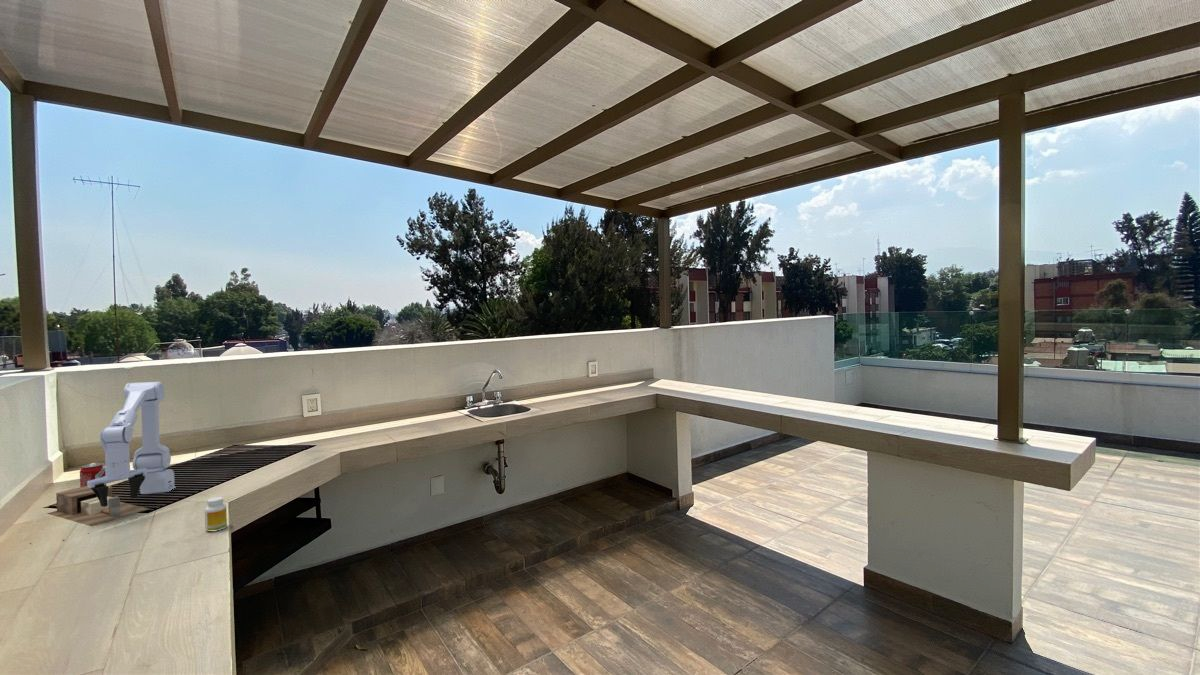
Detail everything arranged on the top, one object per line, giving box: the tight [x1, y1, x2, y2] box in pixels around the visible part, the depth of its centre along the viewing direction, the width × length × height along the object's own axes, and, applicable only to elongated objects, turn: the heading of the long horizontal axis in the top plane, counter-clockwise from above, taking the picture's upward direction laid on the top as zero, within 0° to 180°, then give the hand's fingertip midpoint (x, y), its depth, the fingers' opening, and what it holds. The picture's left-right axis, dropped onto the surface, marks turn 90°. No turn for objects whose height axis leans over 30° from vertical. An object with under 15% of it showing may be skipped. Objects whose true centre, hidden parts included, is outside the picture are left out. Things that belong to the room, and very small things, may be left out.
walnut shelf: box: [46, 485, 150, 527], centre depth 164 cm, size 28×15×7 cm, turn 69°
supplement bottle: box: [204, 496, 228, 531], centre depth 153 cm, size 5×5×10 cm
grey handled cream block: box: [81, 496, 121, 517], centre depth 163 cm, size 14×6×6 cm, turn 69°
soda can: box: [79, 462, 107, 488], centre depth 181 cm, size 7×7×12 cm
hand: (119, 501), depth 160 cm, fingers open, 7 cm apart
